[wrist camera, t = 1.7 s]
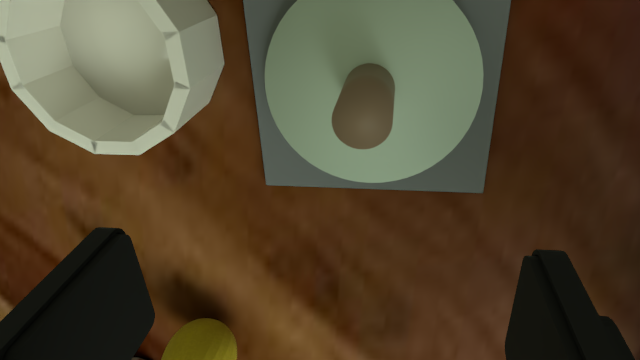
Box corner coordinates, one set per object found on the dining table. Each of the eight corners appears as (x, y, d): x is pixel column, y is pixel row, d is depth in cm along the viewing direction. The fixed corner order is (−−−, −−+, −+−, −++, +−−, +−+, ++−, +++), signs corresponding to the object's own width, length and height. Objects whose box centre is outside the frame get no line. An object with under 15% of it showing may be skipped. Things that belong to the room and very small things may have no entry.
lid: (494, -39, 21) (522, -30, 16) (468, 178, 27) (483, 235, 22) (257, -27, 24) (216, -16, 18) (279, 172, 29) (252, 223, 24)
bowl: (205, -61, 24) (161, -60, 19) (233, 122, 28) (203, 156, 24) (33, -51, 25) (-43, -47, 21) (88, 121, 30) (36, 152, 26)
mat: (518, -63, 21) (520, -63, 21) (482, 189, 28) (482, 192, 28) (239, -48, 24) (237, -48, 23) (267, 182, 30) (266, 185, 30)
